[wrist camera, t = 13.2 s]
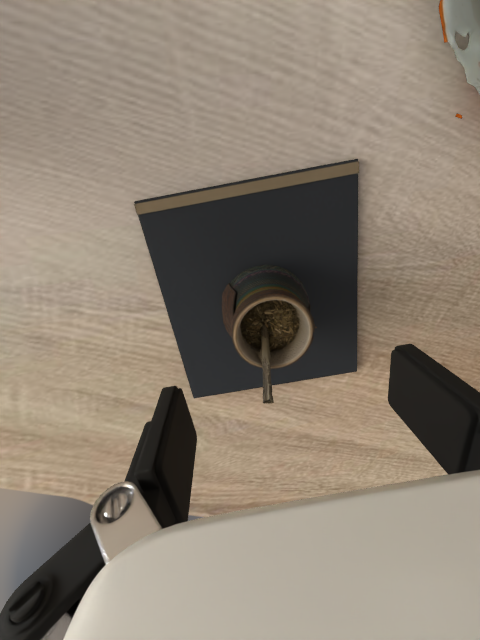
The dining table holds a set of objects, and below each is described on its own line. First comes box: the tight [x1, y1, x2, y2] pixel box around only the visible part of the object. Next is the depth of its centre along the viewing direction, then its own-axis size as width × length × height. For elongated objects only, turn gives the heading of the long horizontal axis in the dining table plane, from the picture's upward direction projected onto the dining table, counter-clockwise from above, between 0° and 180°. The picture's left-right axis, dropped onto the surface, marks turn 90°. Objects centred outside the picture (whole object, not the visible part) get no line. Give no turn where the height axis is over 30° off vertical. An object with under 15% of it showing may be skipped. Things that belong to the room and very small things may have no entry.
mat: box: [134, 159, 359, 398], centre depth 24 cm, size 20×18×1 cm
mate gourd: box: [222, 265, 317, 403], centre depth 20 cm, size 7×8×10 cm
